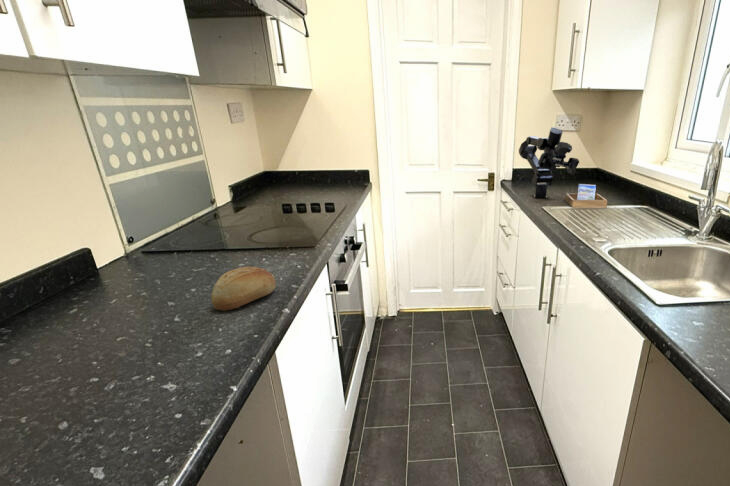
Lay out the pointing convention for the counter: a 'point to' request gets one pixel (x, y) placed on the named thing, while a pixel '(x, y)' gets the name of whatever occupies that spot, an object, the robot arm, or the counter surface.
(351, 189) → the counter surface
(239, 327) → the counter surface
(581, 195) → the medicine box
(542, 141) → the robot arm
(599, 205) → the wooden tray
